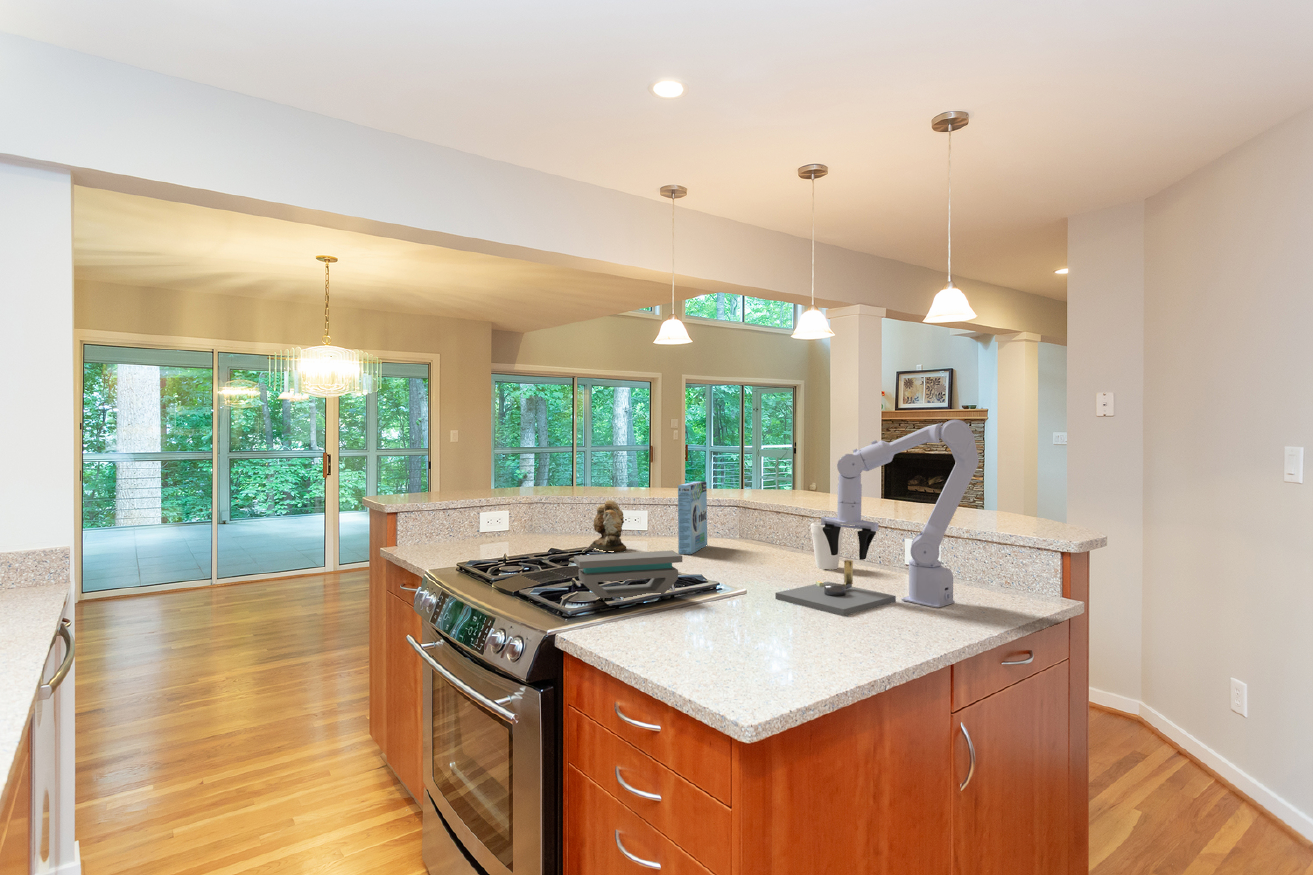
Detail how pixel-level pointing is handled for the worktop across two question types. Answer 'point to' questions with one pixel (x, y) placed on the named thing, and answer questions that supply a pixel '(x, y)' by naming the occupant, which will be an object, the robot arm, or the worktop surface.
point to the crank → (840, 589)
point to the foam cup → (824, 548)
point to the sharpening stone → (628, 572)
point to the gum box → (692, 517)
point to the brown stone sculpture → (609, 527)
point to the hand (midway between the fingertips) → (848, 556)
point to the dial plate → (835, 599)
